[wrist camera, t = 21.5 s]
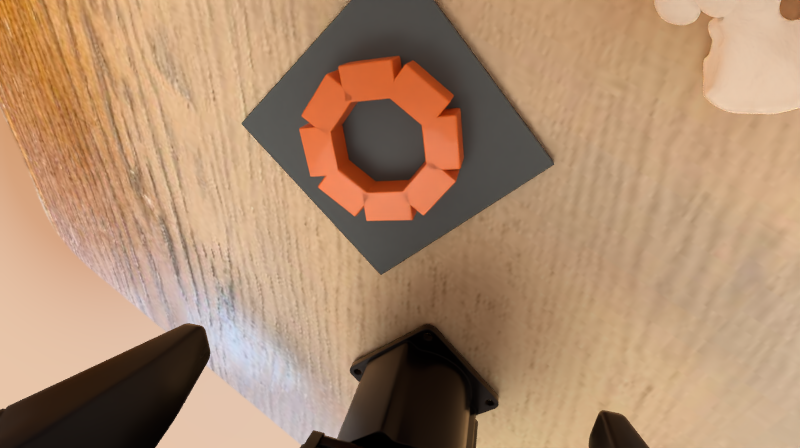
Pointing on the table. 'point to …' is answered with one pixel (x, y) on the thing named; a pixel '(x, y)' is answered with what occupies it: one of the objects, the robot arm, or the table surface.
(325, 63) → the grey mat
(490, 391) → the robot arm
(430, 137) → the orange ring
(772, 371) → the table surface
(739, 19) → the anatomical pelvis
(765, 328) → the table surface
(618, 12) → the table surface
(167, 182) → the table surface
